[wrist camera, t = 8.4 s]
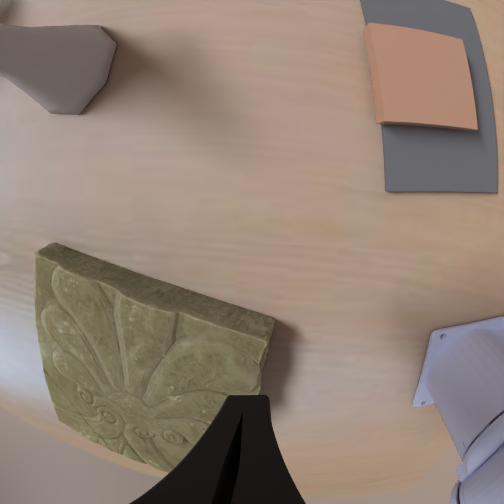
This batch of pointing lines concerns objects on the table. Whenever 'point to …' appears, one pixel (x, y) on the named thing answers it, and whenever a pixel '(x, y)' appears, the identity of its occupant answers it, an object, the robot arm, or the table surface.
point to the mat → (433, 138)
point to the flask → (57, 63)
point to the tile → (419, 78)
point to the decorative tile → (140, 355)
